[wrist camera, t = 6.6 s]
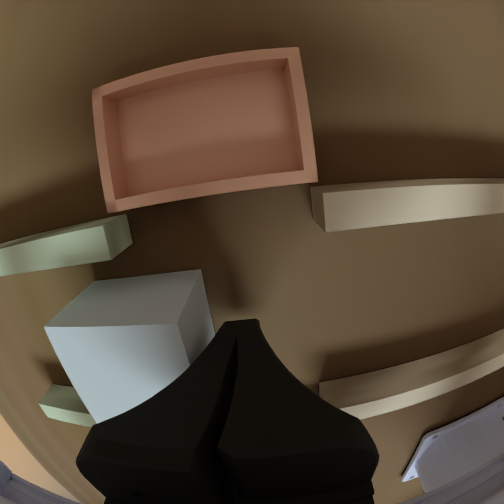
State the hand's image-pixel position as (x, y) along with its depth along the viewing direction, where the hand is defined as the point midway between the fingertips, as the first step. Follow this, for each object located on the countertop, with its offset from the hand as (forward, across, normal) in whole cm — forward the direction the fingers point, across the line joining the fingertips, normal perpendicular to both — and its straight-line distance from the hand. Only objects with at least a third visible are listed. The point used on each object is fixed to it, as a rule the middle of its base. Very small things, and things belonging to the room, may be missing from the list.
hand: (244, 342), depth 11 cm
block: (+1, +4, 0) cm, 4 cm away
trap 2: (+1, 0, -8) cm, 8 cm away
